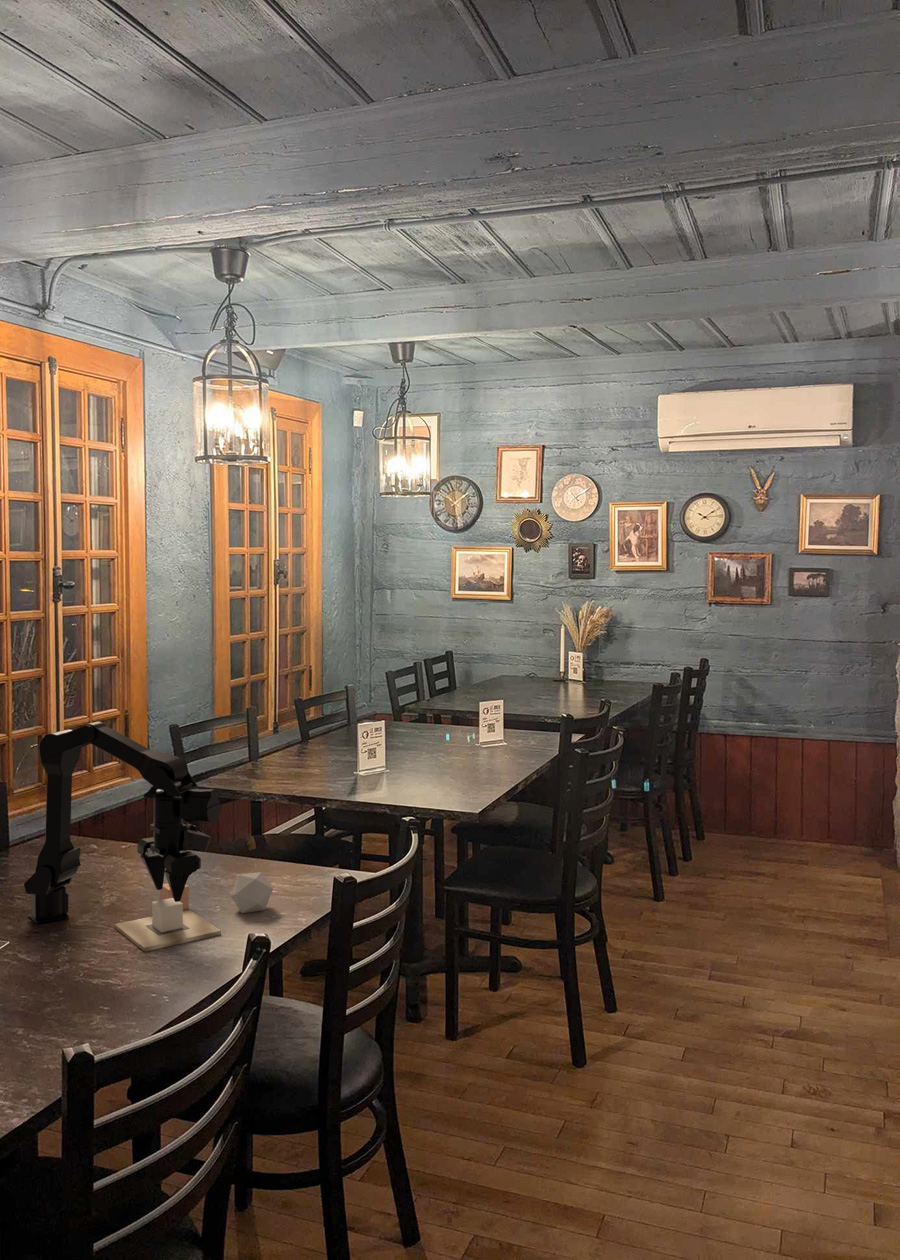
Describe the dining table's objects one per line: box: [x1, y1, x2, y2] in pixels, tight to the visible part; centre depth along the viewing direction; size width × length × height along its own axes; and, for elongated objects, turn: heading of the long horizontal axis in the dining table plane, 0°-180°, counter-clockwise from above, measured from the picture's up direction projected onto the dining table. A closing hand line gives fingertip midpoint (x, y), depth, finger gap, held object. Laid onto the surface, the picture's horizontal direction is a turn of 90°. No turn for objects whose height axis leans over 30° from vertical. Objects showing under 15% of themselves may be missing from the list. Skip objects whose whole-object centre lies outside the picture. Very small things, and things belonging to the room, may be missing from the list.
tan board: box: [114, 908, 222, 952], centre depth 206 cm, size 16×16×1 cm
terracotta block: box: [159, 882, 190, 910], centre depth 221 cm, size 5×5×5 cm
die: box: [229, 871, 274, 914], centre depth 220 cm, size 8×9×10 cm
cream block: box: [151, 898, 184, 932], centre depth 206 cm, size 5×5×5 cm
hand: (168, 895), depth 206 cm, fingers open, 9 cm apart
